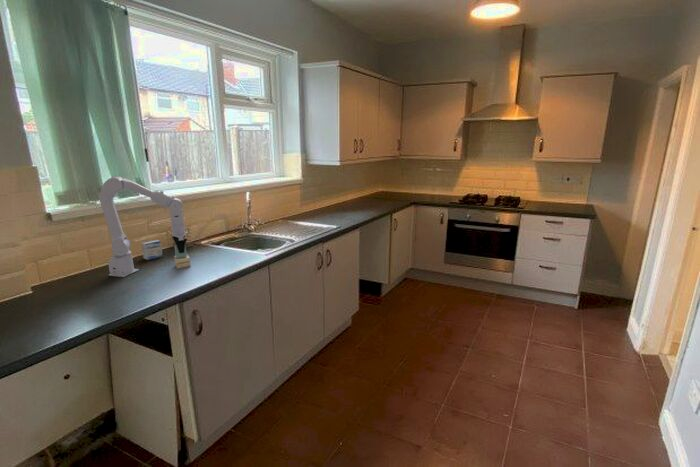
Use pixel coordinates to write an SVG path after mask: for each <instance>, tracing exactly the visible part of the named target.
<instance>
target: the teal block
mask: <svg viewBox="0 0 700 467" xmlns="http://www.w3.org/2000/svg"><path fill="white" fill-rule="evenodd" d="M174 253H175V255H174V256H176V258H180V257H187V254H188V253H187V245H186V244H185V251H184V253H179V251H178V248H177V245H176V244H174Z"/></svg>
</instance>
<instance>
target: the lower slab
mask: <svg viewBox="0 0 700 467" xmlns="http://www.w3.org/2000/svg"><path fill="white" fill-rule="evenodd" d="M174 262H175V261H174ZM191 266H192V265H191V262H190V263H183V264H177V265H176V262H175V267H176V269H183V268H184V269H185V268H190V267H191Z"/></svg>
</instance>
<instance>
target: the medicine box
mask: <svg viewBox="0 0 700 467" xmlns="http://www.w3.org/2000/svg"><path fill="white" fill-rule="evenodd" d="M141 249H142V256H143V259H144V260H147V261H150V260H154V259H158V258H161V257H163V249H162V242H161V240H159V239H154V240H150V241H145V242H141Z"/></svg>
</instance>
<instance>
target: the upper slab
mask: <svg viewBox="0 0 700 467" xmlns="http://www.w3.org/2000/svg"><path fill="white" fill-rule="evenodd" d="M190 260H191V259H190V256H189V254H188V253H187V257H180V258H176V256H175V255H174V262H176V263H175V266H176V265H177V264H183V263H190V264H191V261H190Z"/></svg>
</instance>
